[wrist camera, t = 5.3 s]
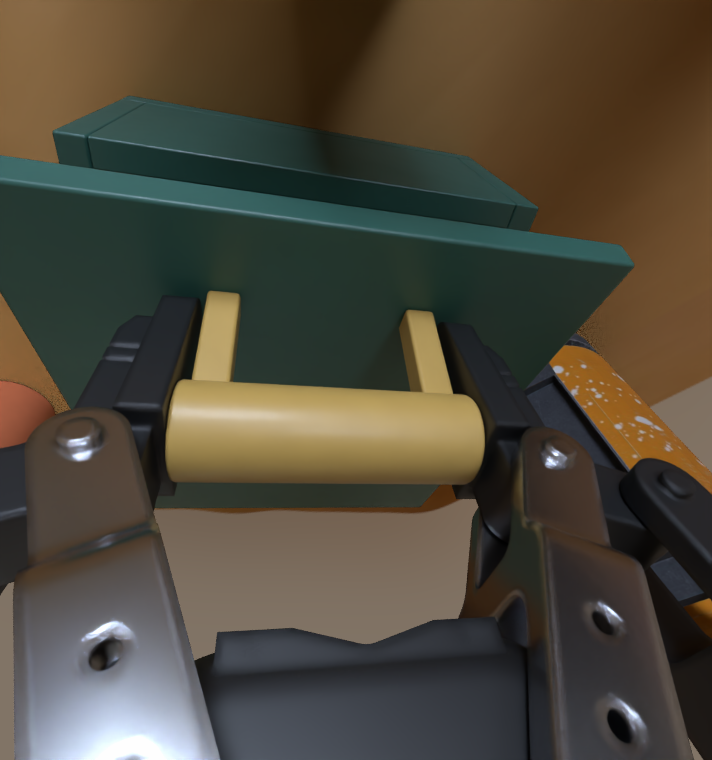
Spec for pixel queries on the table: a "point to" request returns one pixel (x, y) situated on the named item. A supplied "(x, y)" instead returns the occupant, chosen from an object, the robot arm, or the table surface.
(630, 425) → the canister
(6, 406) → the jar
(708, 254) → the table surface
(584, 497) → the robot arm
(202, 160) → the chest
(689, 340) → the table surface
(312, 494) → the lid
